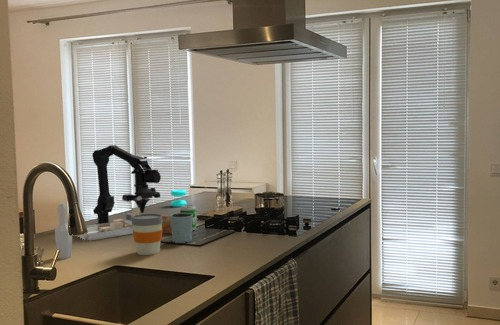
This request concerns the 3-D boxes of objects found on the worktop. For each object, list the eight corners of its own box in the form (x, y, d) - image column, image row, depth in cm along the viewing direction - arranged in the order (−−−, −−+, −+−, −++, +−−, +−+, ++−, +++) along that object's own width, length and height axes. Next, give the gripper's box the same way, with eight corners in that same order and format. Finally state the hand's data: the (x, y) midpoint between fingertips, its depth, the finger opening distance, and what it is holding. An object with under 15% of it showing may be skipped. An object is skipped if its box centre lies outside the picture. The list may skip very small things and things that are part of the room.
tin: (151, 232, 261) (150, 215, 260) (155, 230, 264) (154, 213, 263) (176, 234, 254) (176, 216, 253) (180, 233, 257) (180, 215, 256)
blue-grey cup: (184, 237, 246) (183, 211, 245) (198, 240, 239) (197, 214, 238) (166, 241, 239) (165, 215, 238) (180, 244, 232) (179, 217, 231)
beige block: (110, 228, 261) (110, 222, 261) (118, 227, 264) (118, 221, 264) (114, 230, 257) (113, 223, 257) (122, 228, 260) (122, 222, 260)
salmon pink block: (112, 225, 268) (112, 220, 268) (121, 224, 271) (121, 218, 271) (116, 227, 265) (116, 221, 264) (125, 225, 267) (124, 220, 267)
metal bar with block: (124, 219, 277) (124, 206, 277) (130, 219, 279) (129, 205, 278) (142, 225, 261) (142, 210, 261) (148, 224, 263) (147, 209, 263)
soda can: (184, 232, 258) (183, 207, 257) (178, 229, 265) (178, 205, 264) (198, 230, 262) (197, 206, 261) (193, 228, 268) (192, 204, 267)
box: (72, 235, 258) (72, 226, 258) (97, 231, 266) (97, 223, 265) (84, 240, 246) (83, 231, 246) (109, 235, 254) (109, 227, 254)
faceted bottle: (53, 257, 214) (50, 203, 213) (67, 254, 219) (65, 201, 217) (61, 260, 210) (58, 204, 208) (76, 257, 215) (73, 202, 213)
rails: (72, 233, 261) (72, 227, 261) (130, 225, 280) (130, 219, 280) (88, 240, 244) (88, 234, 244) (149, 230, 263) (149, 224, 263)
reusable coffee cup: (129, 251, 222) (127, 215, 221) (157, 247, 228) (156, 212, 227) (138, 257, 211) (136, 220, 210) (168, 253, 218) (167, 216, 216)
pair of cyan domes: (167, 191, 338) (177, 189, 346) (167, 206, 339) (177, 204, 347) (179, 191, 333) (189, 189, 341) (180, 207, 334) (190, 205, 342)
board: (99, 231, 265) (99, 227, 265) (127, 227, 274) (127, 223, 274) (110, 235, 255) (109, 231, 255) (138, 230, 264) (138, 226, 264)
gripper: (131, 185, 259) (132, 217, 260) (165, 182, 270) (166, 212, 271) (121, 183, 267) (122, 214, 269) (154, 180, 279) (155, 210, 280)
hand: (142, 212), depth 272 cm, fingers closed
